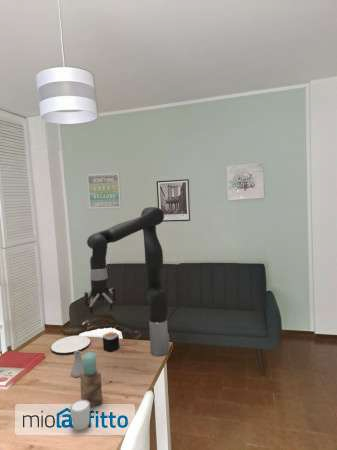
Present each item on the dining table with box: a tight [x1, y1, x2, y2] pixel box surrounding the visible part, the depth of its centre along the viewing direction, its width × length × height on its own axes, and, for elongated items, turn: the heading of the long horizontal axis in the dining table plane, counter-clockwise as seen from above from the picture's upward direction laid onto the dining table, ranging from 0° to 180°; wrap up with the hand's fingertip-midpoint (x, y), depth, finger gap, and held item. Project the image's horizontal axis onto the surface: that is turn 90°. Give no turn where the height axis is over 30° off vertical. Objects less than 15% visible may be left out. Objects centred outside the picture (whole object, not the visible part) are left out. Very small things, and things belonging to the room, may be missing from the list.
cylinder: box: [82, 351, 98, 376], centre depth 121 cm, size 5×5×7 cm
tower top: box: [79, 369, 102, 394], centre depth 122 cm, size 6×6×6 cm
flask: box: [70, 350, 83, 378], centre depth 144 cm, size 7×7×10 cm
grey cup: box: [69, 399, 91, 431], centre depth 110 cm, size 7×7×7 cm
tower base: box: [80, 384, 103, 409], centre depth 123 cm, size 7×7×6 cm
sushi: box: [102, 331, 120, 353], centre depth 167 cm, size 8×8×8 cm
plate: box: [50, 335, 91, 354], centre depth 172 cm, size 21×21×2 cm
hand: (101, 312), depth 143 cm, fingers open, 8 cm apart
